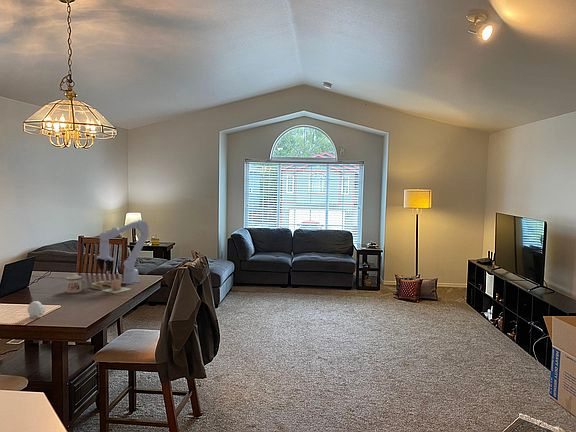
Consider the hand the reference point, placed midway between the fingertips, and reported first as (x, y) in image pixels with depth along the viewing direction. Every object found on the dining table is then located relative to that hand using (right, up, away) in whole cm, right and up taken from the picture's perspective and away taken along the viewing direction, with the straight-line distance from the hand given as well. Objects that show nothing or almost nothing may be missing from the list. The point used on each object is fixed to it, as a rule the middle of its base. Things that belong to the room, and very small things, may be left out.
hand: (105, 270), depth 308 cm
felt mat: (+13, -11, -13) cm, 22 cm away
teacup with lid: (-11, -12, -17) cm, 23 cm away
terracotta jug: (+13, -11, -13) cm, 21 cm away
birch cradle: (+1, -10, -5) cm, 12 cm away
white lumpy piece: (-8, -16, -69) cm, 71 cm away
